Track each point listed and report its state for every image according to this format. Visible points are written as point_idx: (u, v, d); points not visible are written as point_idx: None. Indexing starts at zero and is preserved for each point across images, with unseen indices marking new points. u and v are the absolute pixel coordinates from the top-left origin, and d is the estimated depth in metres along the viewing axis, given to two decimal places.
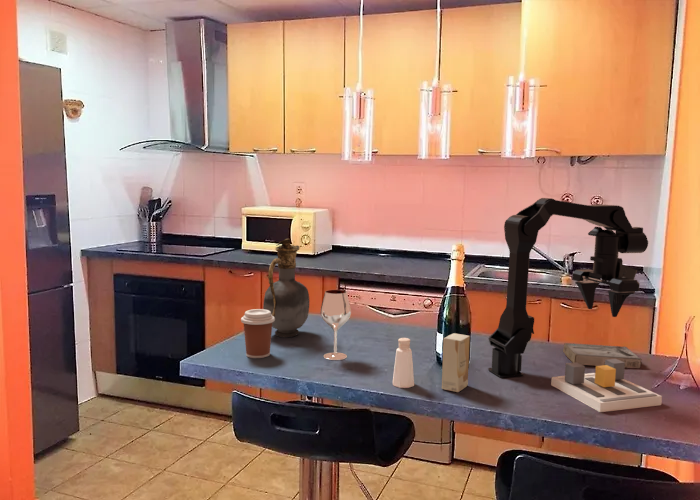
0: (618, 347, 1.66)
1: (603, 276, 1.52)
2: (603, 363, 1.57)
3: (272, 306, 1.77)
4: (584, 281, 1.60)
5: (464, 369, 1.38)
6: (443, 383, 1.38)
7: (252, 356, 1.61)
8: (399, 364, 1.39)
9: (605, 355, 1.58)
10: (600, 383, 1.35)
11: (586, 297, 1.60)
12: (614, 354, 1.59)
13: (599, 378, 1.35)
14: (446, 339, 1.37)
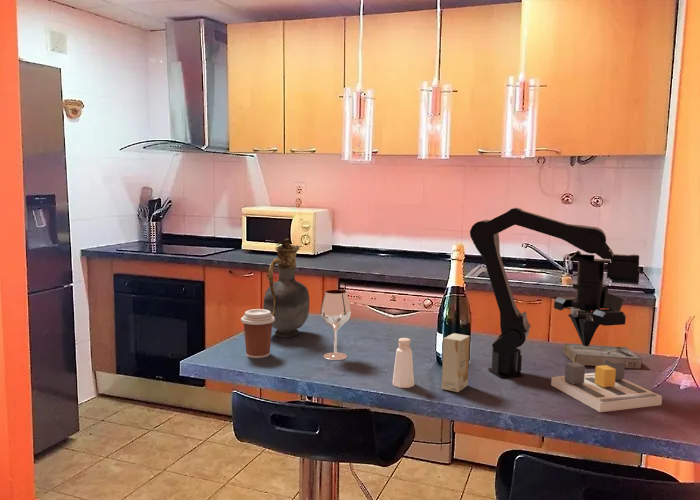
0: (618, 347, 1.65)
1: (587, 307, 1.38)
2: (603, 363, 1.56)
3: (272, 306, 1.77)
4: (578, 314, 1.42)
5: (464, 369, 1.38)
6: (443, 383, 1.38)
7: (252, 356, 1.61)
8: (399, 364, 1.39)
9: (605, 355, 1.57)
10: (600, 383, 1.35)
11: (580, 332, 1.41)
12: (614, 354, 1.59)
13: (599, 378, 1.35)
14: (446, 339, 1.37)
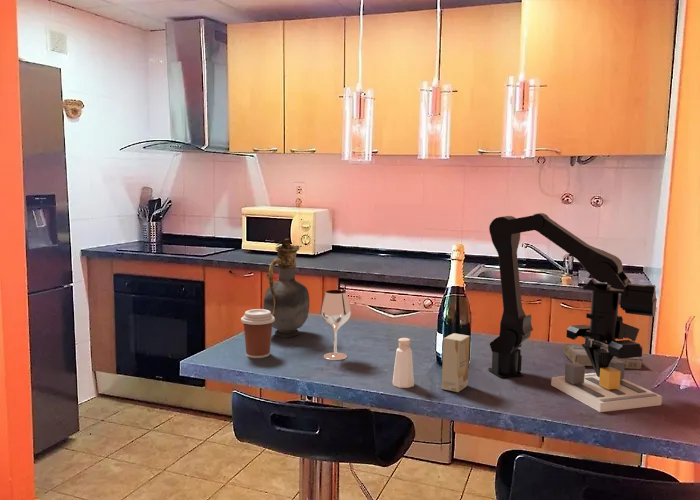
0: None
1: (601, 338, 1.33)
2: None
3: (272, 306, 1.77)
4: (592, 344, 1.37)
5: (464, 369, 1.38)
6: (443, 383, 1.38)
7: (252, 356, 1.61)
8: (399, 364, 1.39)
9: None
10: (605, 385, 1.34)
11: (595, 363, 1.37)
12: None
13: (604, 380, 1.34)
14: (446, 339, 1.37)
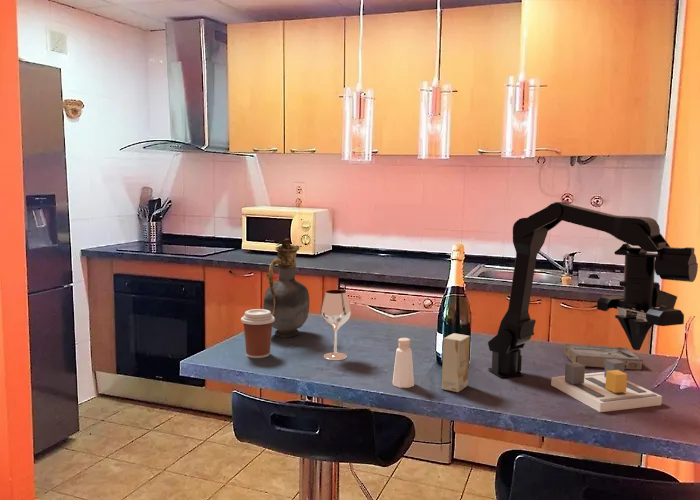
0: (619, 348, 1.65)
1: (638, 306, 1.23)
2: (604, 364, 1.56)
3: (272, 306, 1.77)
4: (627, 315, 1.27)
5: (464, 369, 1.38)
6: (443, 383, 1.38)
7: (252, 356, 1.61)
8: (399, 364, 1.39)
9: (606, 356, 1.57)
10: (611, 388, 1.32)
11: (630, 335, 1.27)
12: (615, 355, 1.58)
13: (610, 383, 1.32)
14: (446, 339, 1.37)
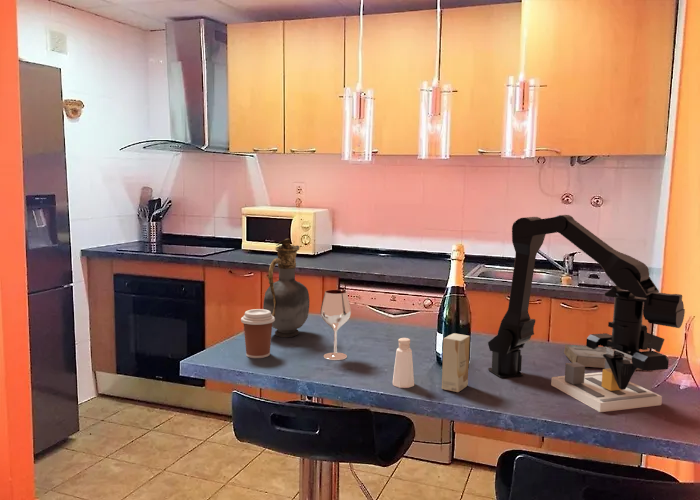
0: None
1: (624, 348, 1.26)
2: None
3: (272, 306, 1.77)
4: (614, 355, 1.30)
5: (464, 369, 1.38)
6: (443, 383, 1.38)
7: (252, 356, 1.61)
8: (399, 364, 1.39)
9: None
10: (607, 386, 1.33)
11: (617, 375, 1.30)
12: None
13: (606, 381, 1.33)
14: (446, 339, 1.37)
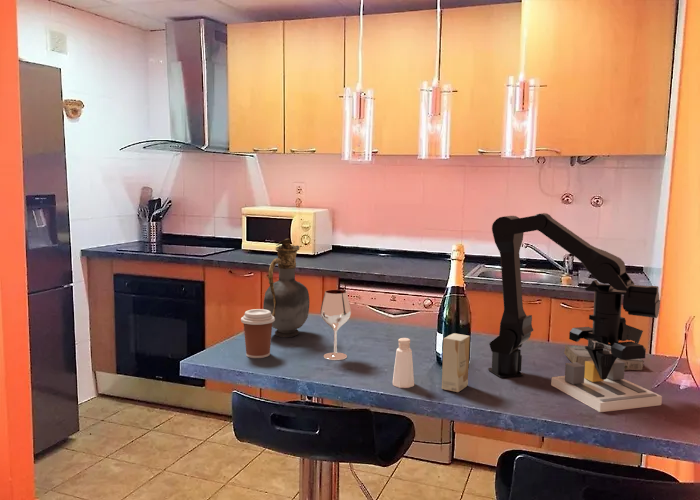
0: None
1: (604, 339, 1.32)
2: None
3: (272, 306, 1.77)
4: (595, 346, 1.36)
5: (464, 369, 1.38)
6: (443, 383, 1.38)
7: (252, 356, 1.61)
8: (399, 364, 1.39)
9: None
10: (589, 378, 1.39)
11: (598, 365, 1.36)
12: None
13: (588, 373, 1.39)
14: (446, 339, 1.37)
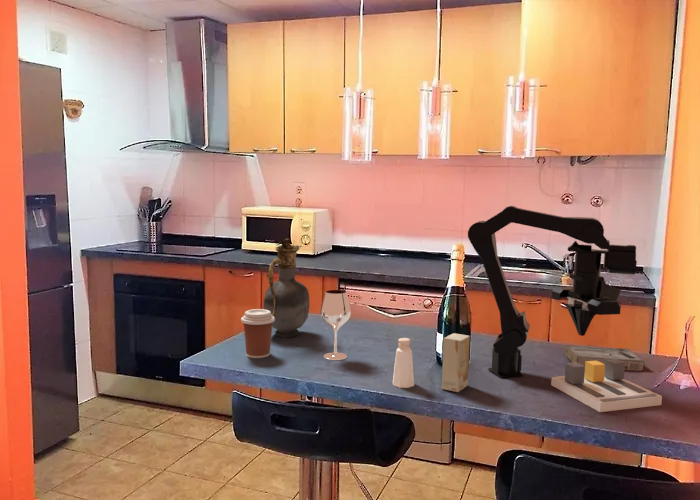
0: (620, 349, 1.64)
1: (582, 296, 1.39)
2: None
3: (272, 306, 1.77)
4: (575, 304, 1.43)
5: (464, 369, 1.38)
6: (443, 383, 1.38)
7: (252, 356, 1.61)
8: (399, 364, 1.39)
9: (607, 357, 1.55)
10: (590, 378, 1.39)
11: (576, 322, 1.43)
12: (616, 356, 1.57)
13: (589, 373, 1.39)
14: (446, 339, 1.37)
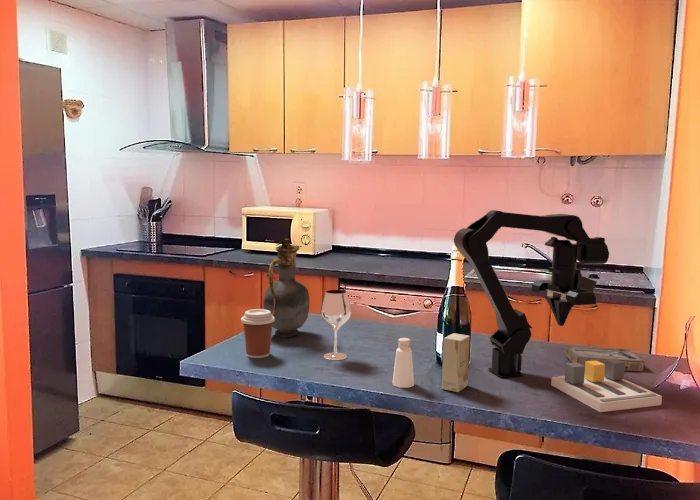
0: (620, 349, 1.63)
1: (561, 288, 1.47)
2: None
3: (272, 306, 1.77)
4: (554, 296, 1.51)
5: (464, 369, 1.38)
6: (443, 383, 1.38)
7: (252, 356, 1.61)
8: (399, 364, 1.39)
9: (608, 358, 1.55)
10: (590, 378, 1.39)
11: (556, 313, 1.51)
12: (617, 357, 1.57)
13: (589, 373, 1.39)
14: (446, 339, 1.37)
